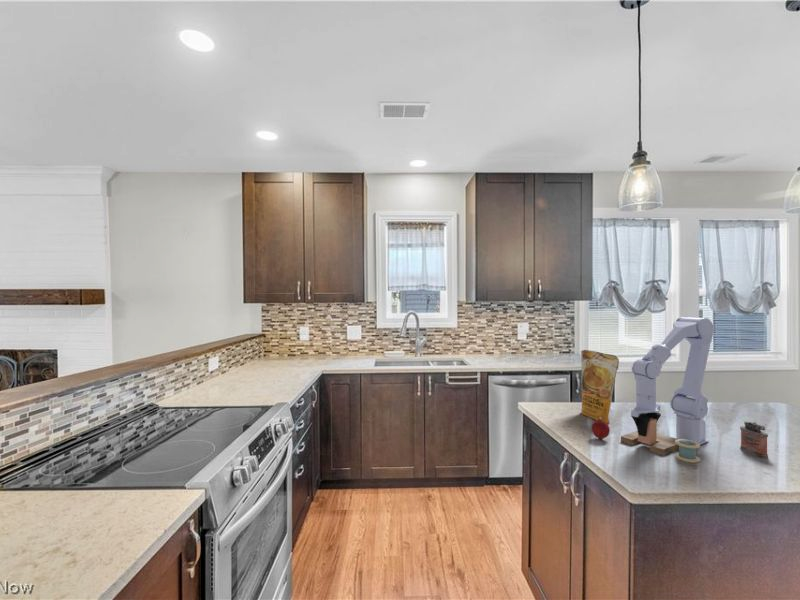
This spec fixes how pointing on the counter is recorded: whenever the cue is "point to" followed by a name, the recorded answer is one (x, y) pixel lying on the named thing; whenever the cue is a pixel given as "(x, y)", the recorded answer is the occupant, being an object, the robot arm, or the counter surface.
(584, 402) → the pancake mix bag
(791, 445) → the counter surface
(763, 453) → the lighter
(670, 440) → the notched board
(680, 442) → the spool
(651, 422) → the peg
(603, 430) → the onion
